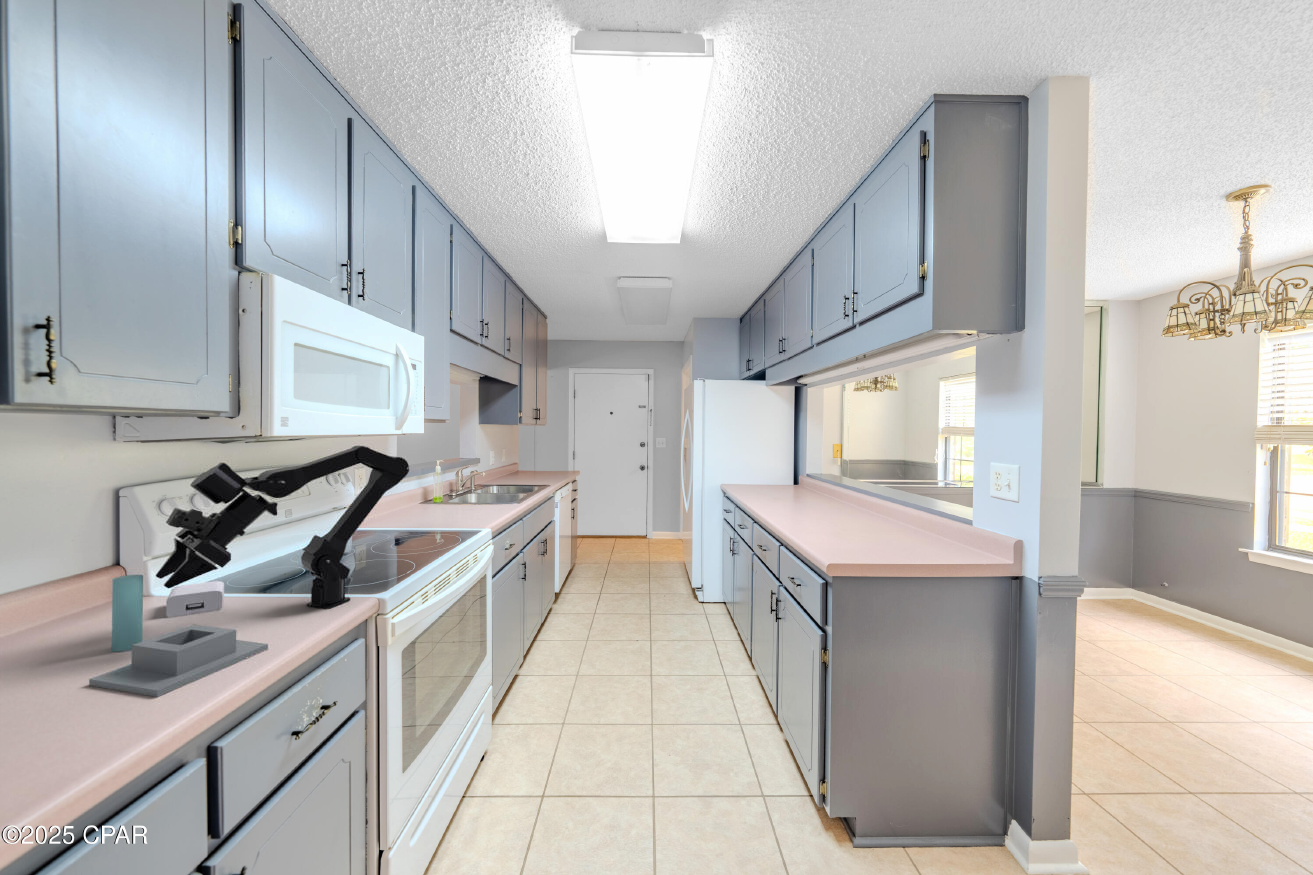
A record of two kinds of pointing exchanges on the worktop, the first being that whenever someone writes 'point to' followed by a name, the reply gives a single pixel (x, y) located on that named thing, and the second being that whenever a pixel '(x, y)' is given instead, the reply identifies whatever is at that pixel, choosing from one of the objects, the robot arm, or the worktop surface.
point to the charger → (195, 599)
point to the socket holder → (178, 660)
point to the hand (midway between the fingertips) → (161, 582)
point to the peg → (127, 612)
